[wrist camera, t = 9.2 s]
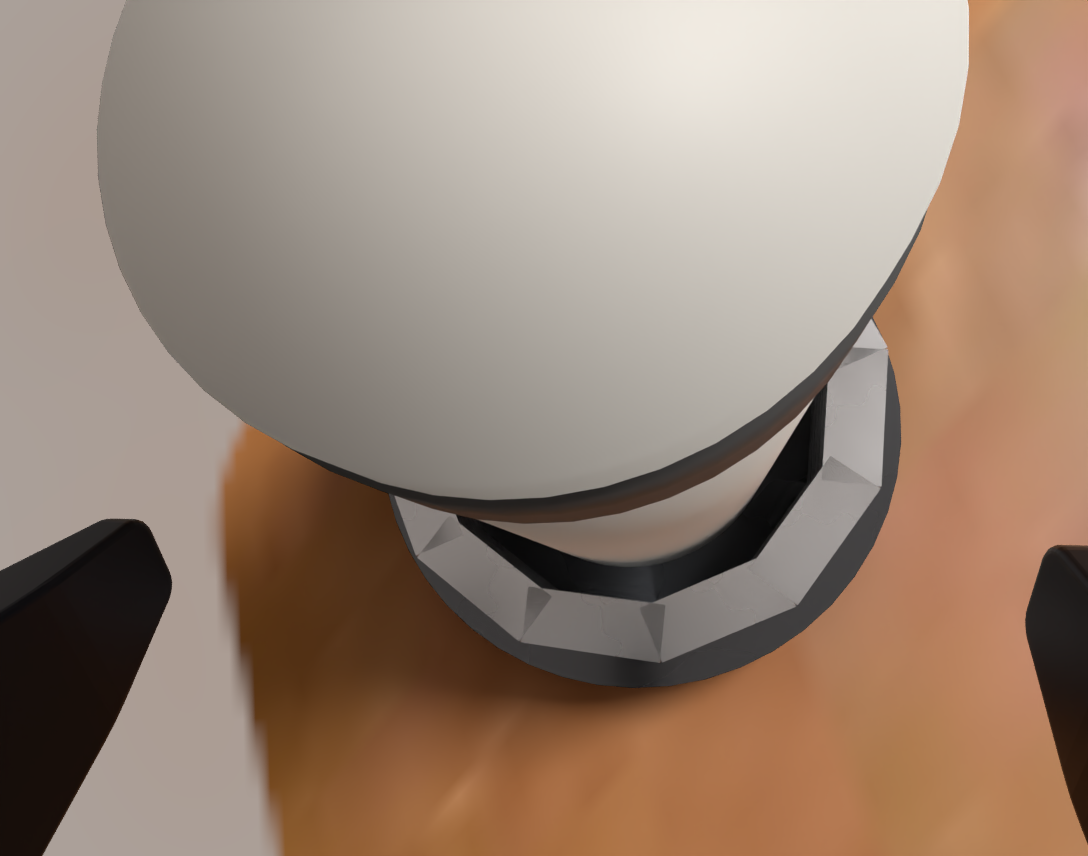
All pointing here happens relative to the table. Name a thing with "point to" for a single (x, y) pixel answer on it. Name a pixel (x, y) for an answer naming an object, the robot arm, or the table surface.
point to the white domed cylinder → (527, 234)
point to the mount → (689, 557)
